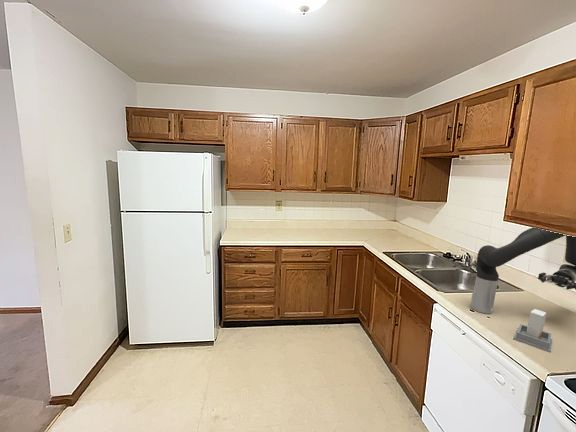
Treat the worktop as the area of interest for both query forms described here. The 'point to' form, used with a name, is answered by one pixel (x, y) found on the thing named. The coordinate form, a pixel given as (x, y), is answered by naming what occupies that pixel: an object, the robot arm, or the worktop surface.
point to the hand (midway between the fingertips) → (554, 283)
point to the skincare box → (536, 323)
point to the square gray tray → (534, 339)
